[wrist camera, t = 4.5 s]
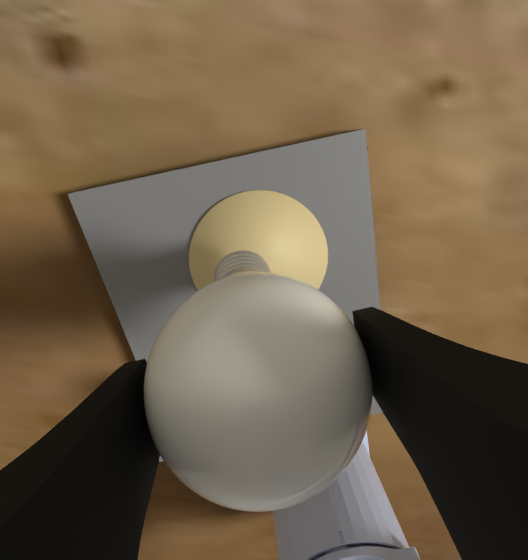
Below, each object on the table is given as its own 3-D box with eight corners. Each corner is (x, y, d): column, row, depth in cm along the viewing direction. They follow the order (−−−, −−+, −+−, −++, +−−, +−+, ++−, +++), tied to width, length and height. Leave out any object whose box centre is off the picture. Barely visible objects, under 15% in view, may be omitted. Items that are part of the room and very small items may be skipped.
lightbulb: (173, 322, 18) (120, 578, 8) (177, 199, 15) (107, 359, 5) (292, 328, 19) (374, 561, 9) (316, 214, 16) (466, 371, 6)
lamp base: (376, 340, 23) (424, 406, 17) (156, 389, 23) (131, 471, 17) (357, 129, 18) (414, 123, 12) (77, 190, 18) (5, 212, 12)
